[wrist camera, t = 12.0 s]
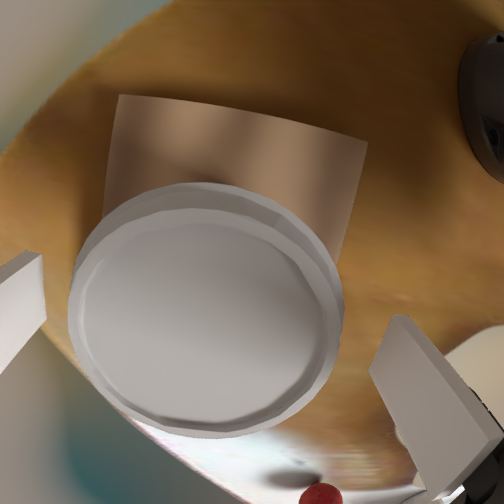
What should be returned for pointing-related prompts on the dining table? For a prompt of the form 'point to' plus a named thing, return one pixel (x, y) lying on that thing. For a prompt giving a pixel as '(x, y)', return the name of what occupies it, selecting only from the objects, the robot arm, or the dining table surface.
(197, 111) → the square wooden board
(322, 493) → the onion
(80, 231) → the dining table surface
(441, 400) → the robot arm
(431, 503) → the jar
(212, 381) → the disposable coffee cup
